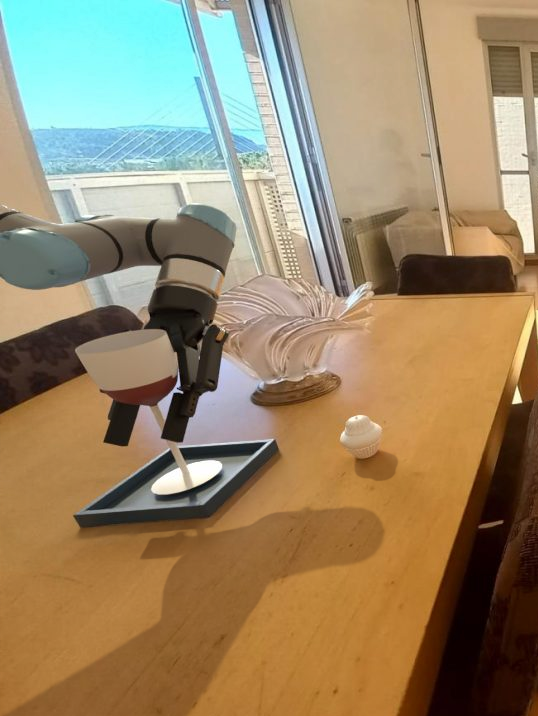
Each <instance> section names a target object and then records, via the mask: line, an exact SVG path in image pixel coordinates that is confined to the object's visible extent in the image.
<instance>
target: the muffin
mask: <svg viewBox="0 0 538 716" xmlns="http://www.w3.org/2000/svg"><path fill="white" fill-rule="evenodd" d="M344 426H345V428H344V430H343V432H342V433H341V434H340V438H339V442H340V445H342V447H344V449H345V450H346V451H347V452H348V453H350V454H351V455H352V456H354V457H355V458H356V459H359V460H363V459H368V458H370V457H371V458H372V457H373V456H374V455H376V454H377V453H378V451H379V448H380V444H381V441H382V435H383V428H382V427H381V426H380V424H377V423H376V422H374V421H372V420H371V419H370V418H369V416H367V415H365V414H364V415H363V414H358V415H355V416H352V417H350V418H348V420H347V421H346V422H345V425H344Z"/></svg>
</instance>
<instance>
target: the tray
mask: <svg viewBox="0 0 538 716" xmlns="http://www.w3.org/2000/svg"><path fill="white" fill-rule="evenodd" d="M177 446H178V448H179V450H180V452H181V455H182V457H183V459H184V461H185V463H186V465H189V464H192V463H196V462H201V461H218V462H220V463H221V464H222V469H221V470H220V471H219V473H218V474H216V475H215V476H214V477H213V478H211V479H210V480H208V481H206V482H204V483H202V484H200V485H198V486H196V487H193V488H191V489H188V490H185V491H181V492H178V493H172V494H160V495H159V494H155V493H153V492H152V490H151V488H152V485H153V484H154V483H155V482H156V481H157V480H158V479H160V478H161V477H162V476H164V475H165V474H167V473H169V472H171V471H173V470H175V469H178V468H179V466H178V464H177V462H176V460H175V458H174V456H173V454H172V451H171V449H170V447H168V448H167V449H165V450H164V451H162V452H160V453H159V454H158V455H157V456H155V457H153V458H152V459H151V460H150V461H148V462H147V463H145V464H143V465H142V466H141V467H139V468H138V469H137V470H136V471H134V472H132V473H131V474H129V475H128V476H126V477H125V478H124V479H122V480H121V481H119V482H118V483H117V484H115V485H114V486H112V487H110V489H108V490H106V491H105V492H104V493H102V494H101V495H100V496H98V497H96V498H95V499H94V500H92V501H90V503H88V504H87V505H86V506H84V507H83V508H81V509H80V510H78V511H77V512H75V513H74V514H73V515H72V517H73V519H74V520H75V522H76V523H77V525H78V526H79V528H90V527H91V528H92V527H102V526H115V525H130V524H140V523H141V524H142V523H152V522H153V523H154V522H165V521H176V520H177V521H178V520H189V519H190V520H191V519H202V518H210V517H211V516H212V515H213V514H214V513H215V512H216V511H217V510H218V509H219V508H221V506H223V504H224V503H225V502H226V501H227V500H228V499H230V497H232V496H233V495H234V494H235V493H236V492H237V491H238V490H239V489H240V488H241V487H242V486H243V485H244V484H245V483H247V481H248V480H249V479H250V478H251V477H253V475H255V473H257V471H258V470H260V469H261V468H262V467H263V466H264V465H265V464H267V462H268V461H269V460H270V459H271V458H272V457H273V456H274V455H275V454H276V453H277V452H278V451H279V450H280V448H279V445H278V443H277V440H276V439H275V438H272V439H270V438H269V439H255V440H243V441H229V442H216V443H215V442H214V443H201V444H200V443H199V444H188V445H187V444H186V445H177Z"/></svg>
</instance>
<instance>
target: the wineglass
mask: <svg viewBox="0 0 538 716" xmlns="http://www.w3.org/2000/svg"><path fill="white" fill-rule="evenodd" d="M74 352H75V354H76V355H77V358H78V359H79V360H80V362H81V364H82V366H83V367H84V369H85V371H86V372H87V374H88V375H89V376H90V378H91V379H92V381H93V382H94V383H95V384H96V386H97V387H98V388H99V390H100V389H101V390H102V391H103V392H104V393H105V394H104V393H103V394H104V395H106V396H108V397H109V398H111V400H113V399H114V400H116V401H118V402H122V403H126V404H132V405H140V406H146V407H149V409H150V410H151V412H152V414H153V416H154V418H155V420H156V422H157V424H158V426H159V428H160V431H161V432H162V431H163V428H164V424H165V421H166V418H165V417H164V415H163V413H162V412H163V411H162V410H161V408H160V406H159V403H160V402H161V401H162V400H164V399H165V398H166V397H167V396H168V395H169V394H171V392H172V391H173V390H174V389H175V387H176V386H177V384H178V380H179V369H178V360H177V356H176V354H175V352H174V351H173V348H172V346H171V343H170V340H169V338H168V335H167V333H166V331H164V330H161V329H146V330H141V329H138V330H130V331H129V332H124V333H121V332H119V333H114V334H110V335H106V336H103V337H99V338H96V339H92V340H89V341H87V342H85V343H83V344H80V345H78V346H77V347H75V349H74ZM165 441H166V443H167V445H168V448H170V449H171V451H172V454H173V456H174V458H175V460H176V462H177V464H178V466H179V468H178V469H175V470H173V471H171V472H169V473H167V474H165V475H164V476H162V477H161V478H160V479H158V480H157V481H156V482H155V483H154V484H153V485H152V488H151V490H152V492H153V493H155V494H159V495H160V494H172V493H178V492H181V491H185V490H188V489H191V488H193V487H196V486H198V485H200V484H202V483H204V482H206V481H208V480H210V479H211V478H213V477H214V476H215V475H216V474H218V473H219V471H220V470H221V469H222V464H221V463H220V462H218V461H201V462H196V463H192V464H189V465H186V463H185V461H184V459H183V457H182V455H181V452H180V450H179V448H178V446H179V445H178V443H177V442H173V441H169V440H165Z"/></svg>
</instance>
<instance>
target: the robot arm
mask: <svg viewBox="0 0 538 716" xmlns="http://www.w3.org/2000/svg"><path fill="white" fill-rule="evenodd" d="M236 224H237V223H236V222H235V220H234V219H233V218H232V217H231V215H228V214H227V213H226V212H224V211H223V210H221V209H219V208H217V207H214V206H211V205H208V204H203V203H195V202H194V203H189V204H186V205H182V207H180V208H179V212H177V213H176V217H175V218H173V217H163V218H161V217H160V218H159V217H157V218H155V217H138V216H137V217H136V216H119V215H118V216H117V215H114V214H102V215H82V216H79V217H77V218H75V220H74V221H73V222H67V223H55V222H50V221H48V220H45V219H42V218H39V217H36V216H33V215H30V214H27V213H24V212H21V211H19V210H18V209H17V210H16V209H14V208H12V207H9V206H6V205H3V204H0V278H1V279H2V280H4V281H5V283H7V284H9V285H11V286H14V287H16V288H19V289H25V290H32V291H40V290H47V289H53V288H63V287H67V286H71V285H74V284H75V285H76V284H77V283H79V282H80V283H81V282H83V281H87V280H90V279H94V278H97V277H101V276H104V275H108V274H112V273H116V272H120V271H124V270H128V269H131V268H135V267H160V269H159V272H158V274H157V277H156V280H155V283H154V289H153V290H152V294H151V296H150V298H149V299H150V300H149V302H148V306H147V312H148V316H149V320H148V321H147V323H146V324H145V325H144V326H143V328H142V329H140V330H146V329H161V330H164V331H166V333H167V335H168V338H169V340H170V343H171V346H172V348H173V351H174V353H176V361H177V365H178V379H179V386H178V387H176V390H177V392H173V393H172V397H171V400H170V404H169V407H168V410H167V414H166V416H165V417H166V418H165V424H164V428H163V431H161V435H160V439H161V440H165V441H166V440H169V441H173V442H176V444H179V443H184V440H185V435H186V432H187V428H188V424H189V420H190V418H193V417H194V416H195V414H196V412H197V411H196V410H197V408H198V403H199V400H200V397H202V395H203V394H205V393H208V392H209V393H214V392H216V391H217V390H218V386H219V378H220V371H221V366H222V365H221V363H222V357H223V351H224V345H225V343H226V341H227V339H228V338H229V336H230V332H229V331H227V330H226V329H225V328H222V327H220V325H217V324H213V323H214V320H215V316H216V312H217V309H218V301H219V300H220V297H221V292H222V289H223V285H224V281H225V277H226V272H227V269H228V265H229V262H230V258H231V255H232V253H233V249H234V248H235V241H236V235H237V234H236V233H237V225H236ZM129 331H131V330H130V329H128V328H126V329H123V330H121V331H120V333H124V332H129ZM200 342H201V346H200ZM99 392H100V393H102V394H104V395H106V394H105V393H104V392H103V391H102V390H101V389H100V388H99ZM140 407H141V405H132V404H126V403H122V402H118V401H116V400H114V399H112V402H111V405H110V408H109V411H108V414H107V420H108V421H109V423H108V426H107V429H106V432H105V435H104V438H103V442H102V443H104V444H108V445H113V446H118V447H128V446H129V444H130V440H131V437H132V434H133V430H134V428H135V423H136V422H137V421H136V420H137V418H138V414H139V411H140Z"/></svg>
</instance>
